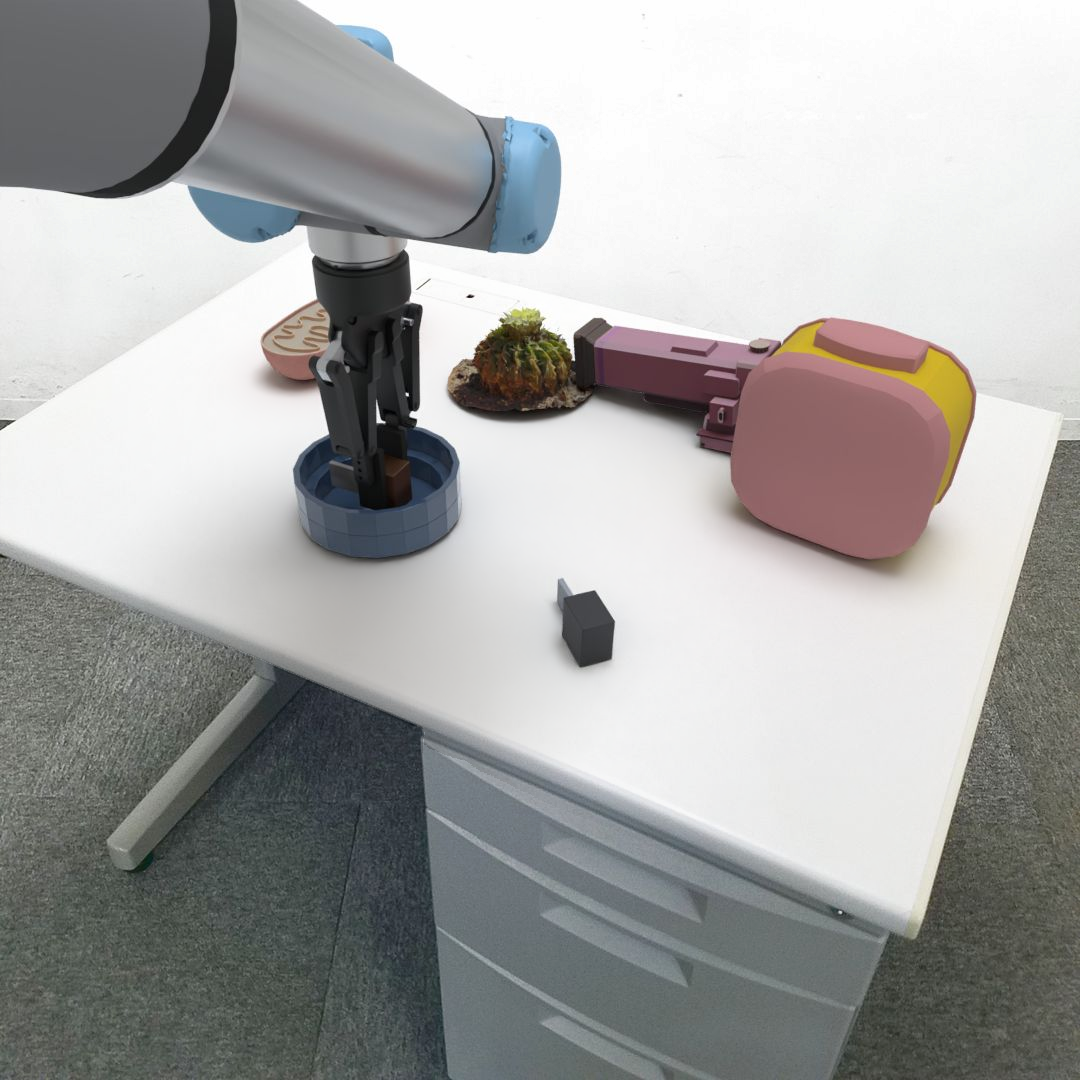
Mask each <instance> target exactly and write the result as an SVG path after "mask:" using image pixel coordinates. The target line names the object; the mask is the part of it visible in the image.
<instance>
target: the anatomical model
mask: <svg viewBox="0 0 1080 1080" xmlns="http://www.w3.org/2000/svg"><path fill="white" fill-rule="evenodd" d="M407 302H411V297H410V298H409V300H408V301H407ZM329 324H330V317H329V315H328V313H327V312H326V310H325V309H324V308H323V306H322V305H321V304H320V303H319V301H318V299H317V298H316V299H313V300H311V301H309V302H308V303H306V304H304V305H302V306H300V307H299V308H296V309H295V310H294V311H292V312H291V313H289V314H287V315H286V316H284V317H283V318H282V319H280V320H279V321H278V322H276V323H275V324H273V325H272V326H270V328H268V329H267V330H266V331H265V332H264V333H263V334H262V335H261V337H260V341H259V342H260V346H261V350H262V353H263V355H264V357H265V360H266V361H267V362H268V364H269V365H270V366H271V367H272V368H273V369H274V370H275V371H276V372H278V373H279V374H281V375H283V376H284V377H285V378H288V379H292V380H298V381H308V380H313V379H315V377H314V375H313V374H312V372H311V370H310V369H309V365H308V363H309V360H310V358H311V357H312V356H313V355H315V356H319V357H322V356H323V354H324V353H325V351H326V349H327V348H328V346H329V345H330V343H329V340H328V330H329Z"/></svg>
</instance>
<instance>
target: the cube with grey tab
mask: <svg viewBox="0 0 1080 1080" xmlns="http://www.w3.org/2000/svg"><path fill="white" fill-rule="evenodd" d="M556 588H557V589H556V591H557V592H556V593H557V594H556V603H557V604H558V606H559V608H560V610H561V611H562V624H561V625H562V627H561V636H562V638H563V639H564V642H565V643H566V645H567V647H568V648H569V650H570V652H571V653H572V655H573V658H574V659H575V660H576V662H577V664H578V666H579V667H580V668H584V667H587V666H590V665H591V666H592V665H595V664H598V663H602V662H607V661H611V660H612V659H613V648H614V636H615V627H616V626H615V625H616V620H615V618H614V617H613V616H612V614H611V613H610V611H609V610H608V608H607V607H606V605H605V603H604V601H603V600H602V599H601V597H600V595H599V593H598V592H597V591H596V590H595V589H593V590H589V591H585V592H581V593H577V594H573V592H572V590H571V588H570V587H569V585H568V584H567V582H566V581H565V579H564V578H563V577H560V578H558V579H557V587H556Z"/></svg>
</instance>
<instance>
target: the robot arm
mask: <svg viewBox="0 0 1080 1080" xmlns="http://www.w3.org/2000/svg"><path fill="white" fill-rule="evenodd" d="M560 151H561V150H560V146H559V143H558V139H557V138H556V135H555V134H554V132H553V131H552V130H551V129H550V128H549V127H548V126H546V125H544V124H541V123H536V122H530V121H523V120H518V119H517V120H516V119H514V118H513V116H509V115H507V116H506V115H505V116H504V117H491V116H486V115H485V116H484V115H480V114H477V113H474V112H473V111H472V110H469V109H468V108H466V107H464V106H462V105H460V104H459V103H458V102H456V101H454V100H453V99H451V98H450V97H448V96H447V95H445V94H443V92H441V91H439V90H438V89H437V88H434V87H433V86H431V85H430V84H428V83H427V82H425V81H423V80H422V79H421V78H418V77H417V76H416V75H414V74H413V73H411V72H409V71H408V70H406V69H405V68H403V67H402V66H400V65H399V64H397V63H396V62H395V59H394V50H393V46H392V43H391V41H390V39H389V38H388V37H387V36H386V35H385V34H384V33H383V32H381V31H379V30H378V29H374V28H371V27H367V26H361V25H348V24H335V23H333V21H330V20H329V19H328V18H325V16H322V15H321V14H319V13H318V12H316V11H315V10H313V9H312V8H310V7H308V6H307V5H305V4H304V3H302V2H300V1H299V0H0V188H23V189H33V190H42V191H52V192H59V193H64V194H70V195H74V196H81V197H87V198H92V199H102V200H125V199H130V198H135V197H140V196H144V195H146V194H147V195H148V194H149V193H152V192H154V191H157V190H159V189H162V188H163V187H165V186H167V185H169V184H170V183H175V184H180V185H183V186H184V185H185V186H187V189H188V192H189V193H188V194H189V195H190V197H191V199H192V202H193V203H194V205H195V207H196V208H197V210H198V211H199V212H200V214H201V215H202V216H203V217H204V219H205V220H206V221H207V222H208V223H209V224H210V225H211V226H212V227H213V228H215V230H217V231H218V232H219V233H222V234H223V235H225V236H226V237H228V238H231V239H233V240H235V241H239V242H241V243H242V242H243V243H247V244H248V243H250V244H258V243H265V242H266V241H268V240H272V239H274V238H278V237H280V236H284V235H285V234H287V233H290V232H292V230H294V229H295V227H297V226H300V227H301V226H302V227H306V235H307V240H308V241H307V243H308V247H309V250H310V252H311V253H312V254H314V255H313V256H312V259H311V266H312V274H313V281H314V288H315V296H316V299H318V301H319V303H320V304H321V305H322V306H323V308H324V309H325V310H326V312H327V313H328V315H329V317H330V324H329V330H328V340H329V343H330V345H329V346H328V348H327V349H326V351H325V353H324V354H323V356H322V357H319V356H315V355H313V356H312V357H311V358H310V360H309V363H308V365H309V369H310V370H311V372H312V374H313V375H314V377H315V378H314V379H315V380H316V382H317V386H318V391H319V395H320V400H321V404H322V409H323V413H324V417H325V421H326V426H327V431H328V434H329V436H330V440H331V445H332V449H333V452H334V453H337V454H340V455H343V456H346V457H350V458H352V462H353V469H354V478H355V481H356V483H357V484H358V492H359V500H360V506H362V507H366V508H369V509H372V510H382V509H389V501H388V490H387V480H386V469H385V459H384V454H385V455H389V456H392V457H396V458H399V459H402V460H406V461H408V458H407V450H408V443H407V431H406V428H409V429H414V428H415V427H417V424H418V419H417V418H415V417H412V416H411V413H412V412H413V413H416V412H418V411H419V409H420V407H421V368H420V367H421V365H420V364H421V363H420V361H421V359H420V358H421V357H420V355H421V354H420V353H421V352H420V351H421V349H420V330H421V324H422V318H423V313H424V312H423V311H424V309H423V305H422V304H420V303H415V302H411V301H410V302H407V301H408V300H409V298H410V299H411V295H412V279H411V278H412V277H411V265H410V255H409V253H408V251H407V250H405V249H406V247H407V245H408V240H412V241H416V242H417V241H418V242H425V243H431V244H437V245H443V246H444V245H445V246H448V247H449V246H450V247H457V248H463V249H469V250H470V249H471V250H477V251H483V252H487V253H489V254H497V253H508V254H518V255H519V254H520V255H530V254H534V253H536V252H538V251H540V249H541V248H542V247H543V246H544V245H545V244H546V243H547V241H548V240H549V238H550V235H551V233H552V231H553V228H554V225H555V222H556V218H557V213H558V210H559V209H558V208H559V204H560V196H561V189H562V157H561V152H560ZM407 394H408V395H407ZM377 409H378V411H377ZM377 412H378V413H379V418H380V421H381V422H379V423H380V424H378V425H377V423H378V421H377V420H378V419H377V415H378V413H377ZM382 422H384V423H385V425H384V424H381V423H382Z"/></svg>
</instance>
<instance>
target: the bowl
mask: <svg viewBox="0 0 1080 1080" xmlns="http://www.w3.org/2000/svg"><path fill="white" fill-rule="evenodd" d="M380 423H381V424H384V425H385V422H377V425H378V424H380ZM406 431H407V443H408V450H407V458H408V461H409V462H410V474H411V487H412V500H411V501H410V502H409V503H408V504H407V505H404V506H401V507H396V508H389V509H382V510H372V509H369V508H366V507H362V506H360V500H359V494H357V493H354V492H351V491H348V490H345V489H342V488H339V487H335V486H332V481H331V474H330V467H329V462H330V461H336V462H339V463H342V464H345V465H349V466H352V467H353V462H352V458H350V457H346V456H343V455H340V454H337V453H334V452H333V449H332V445H331V440H330V436H329V433H328V434H326V435H324V436H323V437H321V438H318V439H316V440H315V441H313V442H311V444H310V445H308V446H307V448H305V449H304V450H303V451H301V453H300V454H299V455H298V458H297V459H296V461H295V463H294V465H293V468H292V474H293V475H292V476H293V484H294V490H295V495H296V501H297V507H298V513H299V519H300V524H301V527H302V529H303V530H304V532H305V533H306V534H307V535H308V537H309V538H310V540H311V541H313V542H315V543H316V544H318V545H320V546H322V547H323V548H325V549H327V550H328V551H331V552H334V553H338V554H342V555H345V556H350V557H352V558H353V557H354V558H372V559H381V558H386V557H387V558H388V557H395V556H402V555H406V554H410V553H412V552H415V551H418V550H420V549H423V548H426V547H429V546H430V545H432V544H433V543H435V542H436V541H438V540H439V539H441V538H442V537H444V536H446V535H447V534H448V533H449V532H450V531H451V529H452V528H453V526H454V525H455V524H456V522H457V521H458V520H459V518H460V513H461V508H462V485H461V461H460V459H459V455H458V453H457V451H456V448H455V447H454V446H453V445H452V444H451V443H449V442H448V440H447V439H445V437H443V436H442V435H439V434H437V433H435V432H433V431H432V430H429V429H427V428H424V427H420V426H416V427H415V428H414V429H409V428H406Z"/></svg>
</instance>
